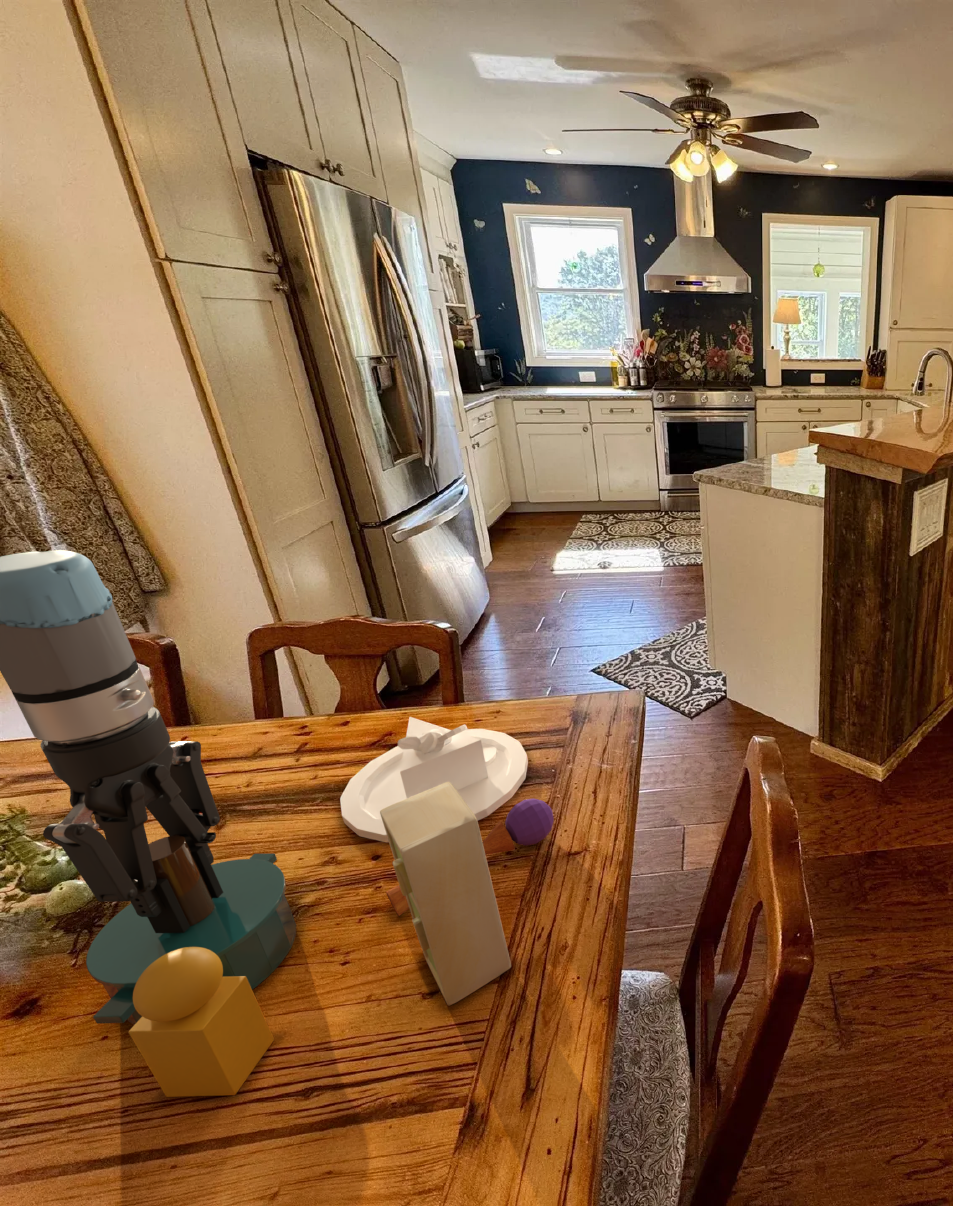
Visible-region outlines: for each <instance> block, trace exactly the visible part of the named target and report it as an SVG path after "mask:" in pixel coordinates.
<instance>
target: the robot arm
mask: <svg viewBox="0 0 953 1206" xmlns="http://www.w3.org/2000/svg"><path fill="white" fill-rule="evenodd" d="M0 673H1V675H2V677H3V679H4V680H5V682H6V684H7V686H8V687H9V690H10V691H11V694H12V695H13V697H14V700H15V701H16V704H17V705H18V708H19V709H20V711H21V713H22V715H23V717H24V719H25V721H26V723H27V725H28V728H30V731H31V734H32V735H33V737H34V738H35V739H37V740H40V741H41V742H40V749H41V750H42V752H43V754H44V756H45V758H46V760H47V762H48V764H49V766H50V767H51V769H52V771H53V773H54V775H55V776H56V777H57V778H58V779H60V781H62V782H63V783H64V784H66V786H67V787H68V788H69V791H70V792H69V793H70V796H69V804H70V806H71V807H72V808H71V810H70V811H69V812H68V813H67V815H65V817H64V818H63V819H62V820H61V822H60V823H50V824H49V825H47V826H46V827H45V828H44V829H43V831H42V836H43V837H44V838H45V839H46V840H48V841H50V842H52V843H54V844H56V845H58V846H60V847H61V848H62V850H63V851H64V853H65V855H66V856H67V857H68V859H69V860H70V861H71V863H72V865H73V866H74V867H75V868H76V870H77V872H78V873H79V875H80V876H81V878H82V879H83V881H84V882H85V884H86V885H87V887H88V888H89V890H90V891H91V893H92V894H93V896H94V897H95V899H96V900H97V901H98V902H99V903H114V902H115V903H119V902H121V903H122V902H130V904H131V903H132V905H133V907H134V909H135V910H136V913H137V915H139V916H141V917H148V919H149V921H150V923H151V925H152V927H153V929H154V931H155V933H184V932H185V931H186V930H187V929H188V928H189V927H190V925H189V923H188V921H187V919H186V917H185V915H184V913H183V911H182V909H181V907H180V905H179V903H178V900H177V898H176V896H175V894H174V892H173V890H172V888H171V886H170V884H169V882H168V880H167V879H156V875H155V870H154V866H153V862H152V858H151V853H150V849H149V845H148V844H149V841H148V836H147V833H146V832H147V831H146V828H145V823H146V822H147V821H148V820H149V817H148V812H147V811H149V813H150V814H151V815H152V816H153V817H154V819H155V820H156V821H157V823H158V824H159V825H160V826H161V827H162V828H163V830H164V831H165V832H166V834H167V835H168V836H182V837H184V838H185V840H186V842H187V844H188V846H189V849H190V851H191V853H192V855H193V857H194V860H195V862H196V864H197V866H198V868H199V871H200V873H201V875H202V877H203V879H204V882H205V884H206V886H207V888H208V891H209V893H210V895H211V897H212V898H218V897H219V896H220V895H221V894H222V893H223V890H222V888H221V886H220V884H219V881H218V879H217V877H216V875H215V872H214V870H213V868H212V866H211V865H212V864H214V854H213V853H212V850H211V848H210V846H209V844H212V843H213V842H214V841H215V840H216V838H217V837H216V836H217V833H216V832H215V831H213V832H212V831H210V829H211V827H215V826H217V825H218V824H219V822H220V819H221V818H220V814H219V810H218V807H217V806H216V802H215V800H214V797H213V793H212V791H211V787H210V786H209V782H208V778H207V776H206V774H205V770H204V767H203V763H202V744H201V742H200V741H198V740H197V741H189V740H188V741H187V740H185V741H171V735H170V733H169V731H168V729H167V726H166V724H165V721H164V719H163V717H162V715H161V713H160V710H159V708H156V707H154V705H155V702H154V701H155V700H154V698H153V697H154V696H153V695H152V693H151V690H150V687H149V686H148V684H147V681H146V679H145V677H144V674H143V672H142V670H141V667H140V665H139V664H138V661H137V658H136V655H135V652H134V650H133V648H132V645H131V643H130V641H129V638H128V636H127V633H126V631H125V628H124V626H123V623H122V621H121V619H120V616H119V614H118V612H117V608H116V606H115V604H114V601H113V595H112V593H111V592H110V590H109V588H107V587H106V585H105V584H104V583H103V581H102V579H101V577H100V575H99V573H98V571H97V569H96V567H95V565H94V563H93V562H92V560H91V559H89V558H88V557H87V556H85V555H84V554H81V553H79V552H75V551H72V550H71V551H70V550H63V549H62V550H58V549H57V550H56V549H55V550H48V551H26V552H18V553H13V554H8V555H1V556H0ZM92 815H93V816H94V820H95V821H93V818H92ZM99 829H100V830H101V831H103V833H104V835H103V834H102V833H101V832H100V831H98V830H99ZM209 831H210V832H209Z"/></svg>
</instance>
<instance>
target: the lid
mask: <svg viewBox="0 0 953 1206" xmlns="http://www.w3.org/2000/svg"><path fill="white" fill-rule="evenodd" d="M148 845H149V849H150V853H151V858H152V862H153V866H154V870H155V875H156V879H167V880H168V882H169V884H170V886H171V888H172V890H173V892H174V894H175V896H176V898H177V900H178V903H179V905H180V907H181V909H182V911H183V913H184V915H185V917H186V919H187V921H188V923H189V925H190V927H189V928H188V929H187V930H186V931H185V932H184V933H155V931H154V929H153V927H152V925H151V923H150V921H149V919H148V917H141V916H139V915H137V913H136V910H135V909H134V907H133V905H132V903H131V902H130V904H128V905H127V906H125V907H124V908H123V909H122V910H120V911H119V912H118V913H116V914H115V915H114V917H112V918H111V919H110V920H109V921H108V922H107V923H106V924H105V925H104V926H103V927H102V929H100V931H99V932H98V933H97V934H96V936H95V938H94V939H93V940H92V942H91V944H90V946H89V948H88V950H87V953H86V961H85V965H86V969H87V971H88V973H89V975H90V976H91V977H92V979H93V980H94V981H96V982H97V983H99V984H101V985H103V984H104V985H106V986H111V987H120V988H129V987H135V985H136V983H137V981H138V979H139V977H140V976H141V974H142V973H143V972H144V971H145V970H146V968H147V967H148V966H150V965H151V964H152V963H153V962H154V961H156V960H157V959H158V958H160V957H161V956H163V955H165V954H167V953H169V952H171V951H174V950H177V949H181V948H185V947H202V948H206V949H209V950H211V951H212V952H214V953H215V954H216V955H217V956H218V957H221V956H223V955H224V954H226V953H227V952H229V951H231V950H232V949H234V948H235V947H237V946H238V945H240V944H241V943H242V942H244V941H245V940H246V939H248V938H249V937H250V936H251V935H253V934H254V933H255V932H256V931H257V930H258V929H259V928H260V927H261V926H263V925H264V923H265V922H266V921H267V920H268V919H269V918H270V917H271V916H272V914H273V913H274V912H275V911H276V909H277V908H278V906H279V904H280V903H281V901H282V899H283V896H284V895H285V892H286V890H287V889H286V888H287V881H286V877H285V873H284V872H283V871H282V869H281V868H280V867H278V866H277V865H276V864H275V863H271V862H267V861H264V860H258V859H249V858H242V859H241V858H240V859H233V860H232V859H231V860H226V861H220V862H216V863H212V864H211V866H212V868H213V870H214V872H215V875H216V877H217V879H218V881H219V884H220V886H221V888H222V890H223V893H222V894H221V895H220V896H219V897H218V898H212V897H211V895H210V893H209V891H208V888H207V886H206V884H205V882H204V879H203V877H202V875H201V873H200V871H199V868H198V866H197V864H196V862H195V860H194V857H193V855H192V853H191V851H190V849H189V846H188V844H187V842H186V840H185V838H184V837H182V836H169V835H168V836H165V837H162V838H159V839H156V840H154V841H152V842H150V843H148Z"/></svg>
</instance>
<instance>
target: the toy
mask: <svg viewBox="0 0 953 1206" xmlns="http://www.w3.org/2000/svg"><path fill="white" fill-rule="evenodd" d="M222 976H223V966H222V962H221V960H220V958H219V957H218V956H217V955H216V954H215V953H214V952H212V951H211V950H209V949H206V948H202V947H185V948H181V949H177V950H174V951H171V952H169V953H167V954H165V955H163V956H161V957H160V958H158V959H157V960H156V961H154V962H153V963H152V964H151V965H150V966H148V967H147V968H146V970H145V971H144V972H143V973H142V974H141V976H140V977H139V979H138V981H137V983H136V985H135V988H134V991H133V1004H134V1007H135V1009H136V1010H137V1012H138V1013H139V1014H140V1015H141V1016H142V1017H141V1018H140V1020H139V1021H138V1022H137V1023H136V1024H135V1025H134V1024H133V1026H132V1027H131V1028H130V1029H129V1030H128V1035H129V1036H130V1038H131V1040H132V1041H133V1042H134V1045H135V1046H136V1048H137V1049H138V1051H139V1053H140V1055H141V1056H142V1058H143V1060H144V1062H145V1063H146V1065H147V1067H148V1068H149V1070H150V1072H151V1073H152V1075H153V1077H154V1078H155V1080H156V1083H157V1084H158V1086H159V1087H160V1089H161V1091H162V1092H163V1095H164V1096H165V1097H166V1098H171V1097H172V1098H175V1097H176V1098H179V1097H216V1096H235V1095H237V1093H238V1092H239V1090H240V1089H241V1088H242V1086H243V1085H244V1083H245V1082H246V1080H247V1079H248V1078H249V1076H250V1075H251V1074H252V1072H253V1071H254V1069H255V1068H256V1067H257V1065H258V1063H259V1062H260V1061H261V1059H262V1058H263V1056H264V1055H265V1054H266V1052H267V1051H268V1049H269V1048H270V1046H271V1045H272V1044H273V1042H274V1040H275V1037H274V1035H273V1033H272V1031H271V1029H270V1027H269V1025H268V1022H267V1020H266V1017H265V1015H264V1014H263V1012H262V1008H261V1006H260V1004H259V1002H258V1000H257V998H256V996H255V993H254V991H253V990H252V989H251V987H250V984H249V982H248V980H247V978H246V976H233V977H222Z"/></svg>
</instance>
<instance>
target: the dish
mask: <svg viewBox="0 0 953 1206" xmlns="http://www.w3.org/2000/svg"><path fill="white" fill-rule="evenodd" d="M528 766H529V759H528V754H527V752H526V750H525V748H524V747H523V745H522V743H521V741H519V740H517V739H515V738H514V737H512V736H511V735H508V734H507V733H505V732H501V731H496V730H493V729H492V730H491V729H486V728H468V727H467V725H466V723H465V724H462V725H459V726H458V727H455V728H454V729H449V728H446V727H443V726H440V725H436V724H434V723H430V722H427V721H424V720H421V719H418V718H416V717H412V716H409V718H408V723H407V728H406V734H405V736H404V737H402V738H400V739H398V740H397V746H395V747H393V748H391V749H390V750H388V751H386V752H384V753H382V754H380V755H379V756H377V757H375V758H373V759H372V760H370V761H369V762H368V763H367V764H366V765H365V766H364V767H362V768H361V769H360V770H358V772H357V773H356V774H355V775H353V776H352V777H351V778H350V779H349V781H348V783H347V785H346V786H345V789H344V790H343V792H342V794H341V796H340V798H339V801H340V803H339V804H340V811H341V817H342V821H343V823H344V825H346V826H347V827H348V828H349V829H350V830H352V831H353V832H354V833H355V834H356V835H357V836H358V837H361V838H364V839H369V840H374V841H378V842H382V843H389V840H388V837H387V834H386V831H385V827H384V824H383V821H382V818H381V815H380V811H381V810H382V809H384V808H386V807H388V806H390V805H392V804H395V803H397V802H400V801H402V800H405V799H407V798H410V797H412V796H414V795H417V794H419V793H421V792H424V791H426V790H429V789H431V788H434V787H436V786H438V785H441V784H443V783H446V782H450V783H451V784H452V785H453V786H454V787H455V789H456V790H457V792H458V793H459V794H460V796H461V797H462V798H463V800H464V801H465V802H466V804H467V805H468V806H469V808H470V809H471V811H472V812H473V813H474V815H475V817H476V819H477V821H480V820H482V819H485V818H487V817H488V816H490V815H491V814H493V813H494V812H495V811H496V810H497V809H499V808H500V807H502V806H504V804H505V803H507V802H508V801H509V800H510V799H513V797H514V795H515V794H516V792H517V791H518V789H519V788H520V787H521V785H522V784H523V783H524V781H525V780H526V777H527V771H528Z"/></svg>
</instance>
